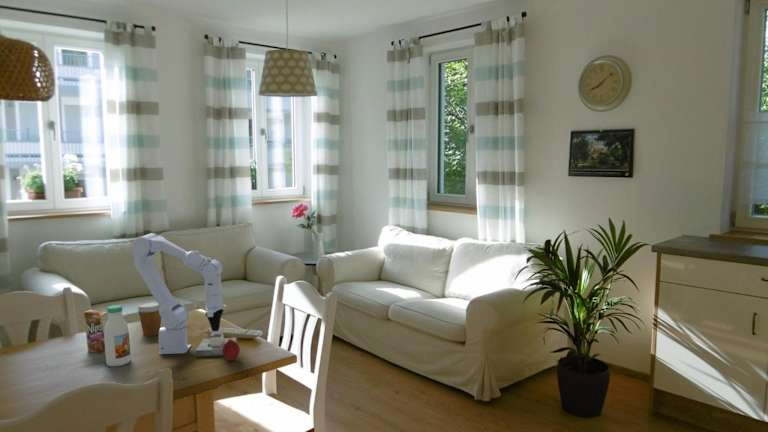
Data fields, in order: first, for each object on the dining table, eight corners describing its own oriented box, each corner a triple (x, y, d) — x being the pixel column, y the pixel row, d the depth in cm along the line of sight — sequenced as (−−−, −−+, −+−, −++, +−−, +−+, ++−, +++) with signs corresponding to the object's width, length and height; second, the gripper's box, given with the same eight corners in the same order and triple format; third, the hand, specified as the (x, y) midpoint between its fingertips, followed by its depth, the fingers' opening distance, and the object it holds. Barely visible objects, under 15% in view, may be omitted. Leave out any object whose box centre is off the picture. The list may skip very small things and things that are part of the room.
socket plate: (195, 357, 197) (195, 350, 197) (203, 345, 209) (203, 339, 208) (230, 355, 198) (229, 349, 197) (236, 344, 210) (236, 337, 209)
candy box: (86, 352, 204) (83, 311, 202) (96, 348, 208) (93, 308, 206) (105, 355, 200) (101, 313, 199) (114, 350, 204) (111, 310, 203)
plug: (210, 351, 201) (209, 335, 200) (212, 347, 205) (212, 332, 204) (221, 351, 201) (220, 335, 201) (223, 347, 205) (223, 331, 205)
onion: (243, 358, 195) (242, 336, 194) (233, 364, 190) (232, 341, 189) (229, 356, 197) (228, 334, 196) (219, 362, 192) (218, 340, 191)
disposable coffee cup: (143, 329, 228) (141, 301, 226) (167, 328, 229) (165, 300, 227) (135, 337, 219) (133, 308, 217) (160, 336, 220) (158, 306, 218)
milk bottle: (106, 368, 188) (102, 311, 185) (106, 361, 195) (101, 305, 192) (131, 364, 191) (127, 307, 189) (130, 357, 198) (126, 302, 196)
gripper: (220, 299, 194) (222, 336, 195) (228, 288, 208) (230, 323, 210) (199, 299, 193) (202, 337, 195) (209, 289, 208) (211, 324, 209)
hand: (215, 330), depth 202 cm, fingers closed
